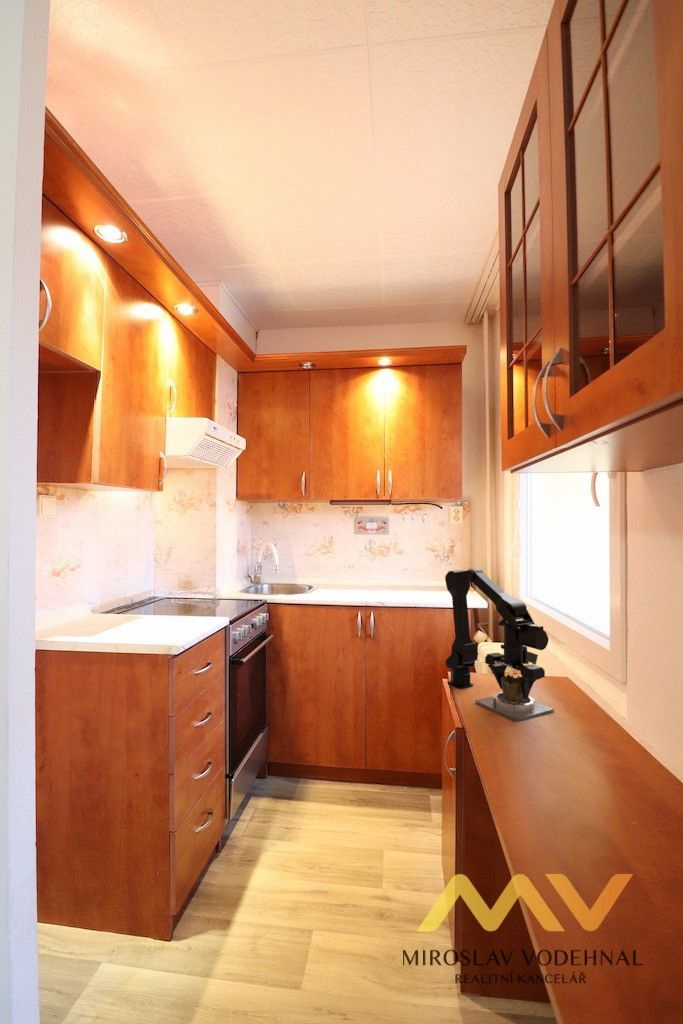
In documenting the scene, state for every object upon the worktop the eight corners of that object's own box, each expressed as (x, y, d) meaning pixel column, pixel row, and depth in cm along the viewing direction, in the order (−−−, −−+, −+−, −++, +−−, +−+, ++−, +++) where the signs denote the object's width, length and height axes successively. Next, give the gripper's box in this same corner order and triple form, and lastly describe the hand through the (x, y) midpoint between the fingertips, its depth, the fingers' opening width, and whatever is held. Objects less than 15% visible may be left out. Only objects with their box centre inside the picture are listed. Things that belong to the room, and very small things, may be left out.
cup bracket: (475, 702, 150) (475, 693, 150) (512, 694, 157) (512, 685, 157) (515, 722, 135) (515, 712, 135) (553, 711, 143) (553, 702, 143)
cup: (528, 703, 147) (528, 677, 148) (523, 711, 141) (523, 683, 141) (504, 698, 151) (504, 672, 152) (498, 705, 145) (498, 679, 145)
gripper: (557, 646, 142) (557, 699, 142) (509, 633, 158) (509, 680, 158) (531, 651, 137) (531, 705, 137) (483, 636, 153) (484, 685, 153)
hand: (513, 693), depth 146 cm, fingers open, 9 cm apart
